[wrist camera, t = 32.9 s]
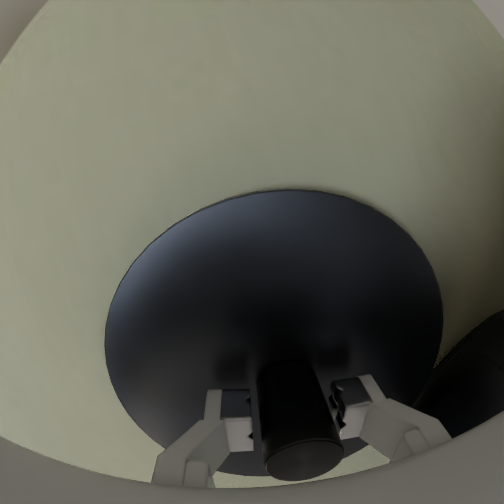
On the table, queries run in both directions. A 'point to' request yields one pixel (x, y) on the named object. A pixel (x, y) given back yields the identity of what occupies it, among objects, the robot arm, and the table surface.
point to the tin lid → (273, 323)
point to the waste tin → (468, 380)
